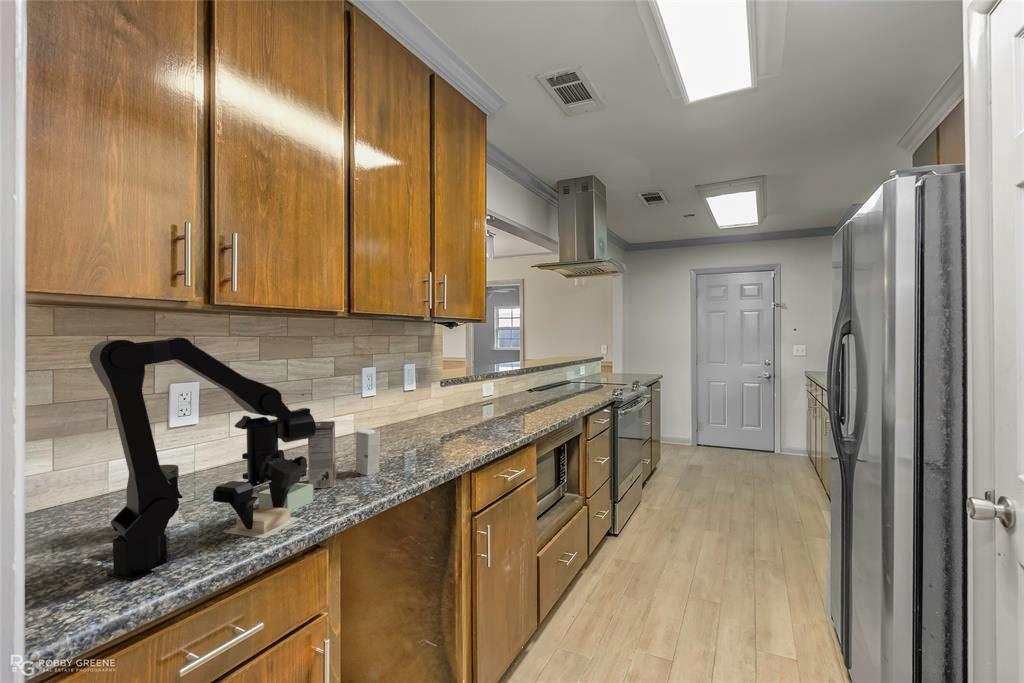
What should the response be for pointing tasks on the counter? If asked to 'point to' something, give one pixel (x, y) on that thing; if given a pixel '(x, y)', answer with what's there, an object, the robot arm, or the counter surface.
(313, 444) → the coffee box
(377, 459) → the skincare box
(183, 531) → the counter surface
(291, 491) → the sage green tray
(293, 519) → the mat
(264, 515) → the lid
